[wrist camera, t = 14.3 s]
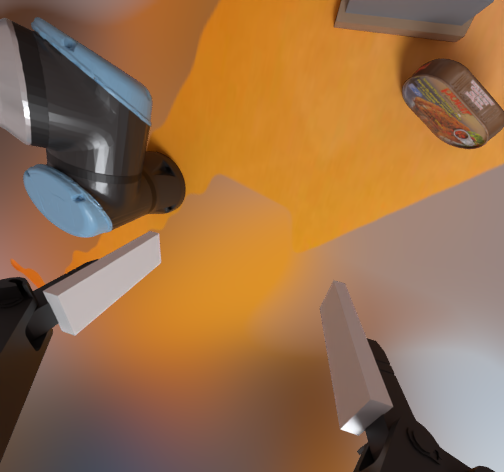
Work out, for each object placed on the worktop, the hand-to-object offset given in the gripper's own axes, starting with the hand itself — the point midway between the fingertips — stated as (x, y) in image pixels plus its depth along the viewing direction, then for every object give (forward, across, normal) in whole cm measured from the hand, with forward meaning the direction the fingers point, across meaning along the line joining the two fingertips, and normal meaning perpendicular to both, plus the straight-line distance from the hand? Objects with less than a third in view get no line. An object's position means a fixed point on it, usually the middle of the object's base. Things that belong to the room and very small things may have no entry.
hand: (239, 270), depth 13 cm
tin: (+32, +23, +18) cm, 43 cm away
